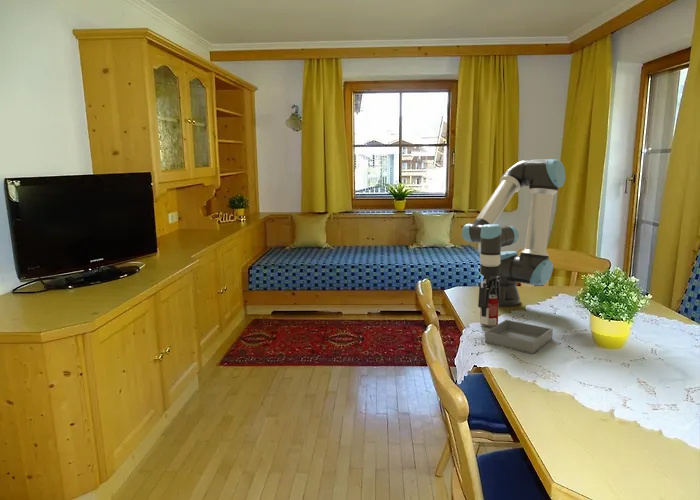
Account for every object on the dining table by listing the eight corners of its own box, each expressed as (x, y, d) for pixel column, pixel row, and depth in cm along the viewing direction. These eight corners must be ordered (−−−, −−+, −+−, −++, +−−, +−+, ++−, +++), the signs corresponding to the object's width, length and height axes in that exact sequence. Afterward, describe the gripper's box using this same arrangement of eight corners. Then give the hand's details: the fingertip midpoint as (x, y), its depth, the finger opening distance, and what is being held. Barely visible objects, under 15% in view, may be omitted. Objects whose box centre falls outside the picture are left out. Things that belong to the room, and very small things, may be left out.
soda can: (498, 328, 188) (499, 298, 186) (480, 327, 189) (481, 297, 187) (497, 322, 195) (497, 293, 192) (479, 322, 196) (480, 293, 194)
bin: (506, 329, 187) (506, 319, 186) (552, 339, 175) (552, 328, 175) (485, 342, 174) (485, 331, 173) (533, 354, 163) (533, 342, 162)
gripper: (492, 259, 197) (491, 313, 201) (469, 267, 183) (468, 326, 187) (510, 261, 192) (508, 316, 196) (487, 270, 178) (486, 330, 182)
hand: (489, 321), depth 192 cm, fingers closed on soda can, 7 cm apart
